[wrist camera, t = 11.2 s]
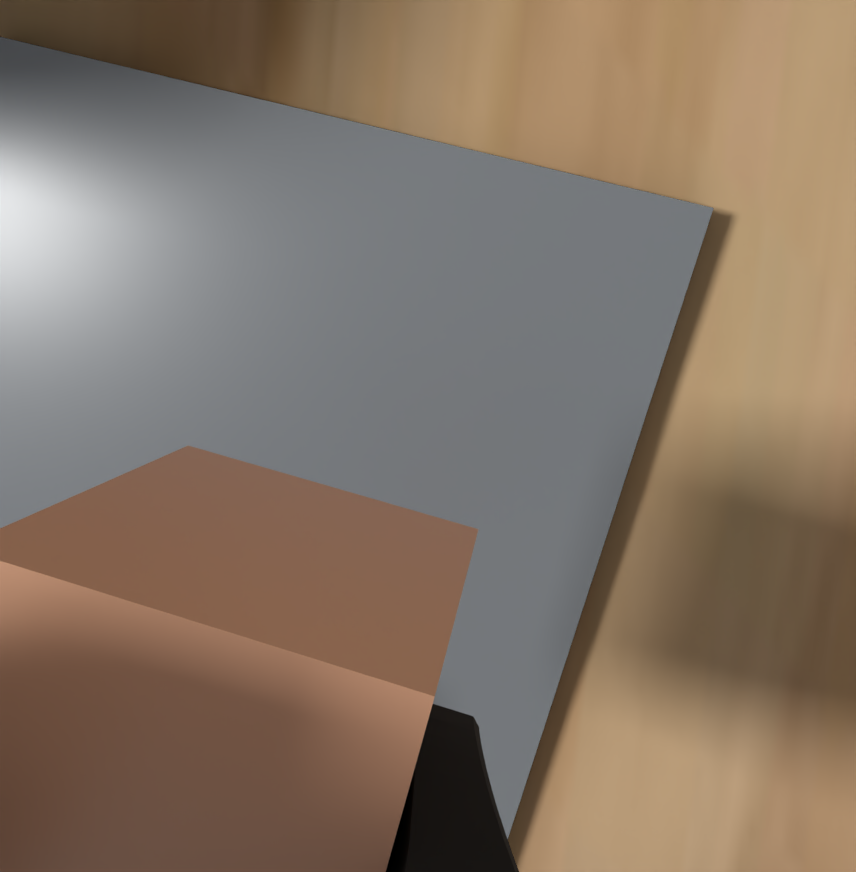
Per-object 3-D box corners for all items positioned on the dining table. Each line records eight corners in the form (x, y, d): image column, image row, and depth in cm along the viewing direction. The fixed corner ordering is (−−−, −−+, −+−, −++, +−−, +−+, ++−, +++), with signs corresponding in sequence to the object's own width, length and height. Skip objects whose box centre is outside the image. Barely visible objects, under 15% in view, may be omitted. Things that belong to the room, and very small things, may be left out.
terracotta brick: (121, 818, 11) (-103, 1101, 7) (188, 445, 10) (-44, 547, 6) (373, 905, 11) (279, 1250, 7) (478, 529, 9) (434, 696, 6)
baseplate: (-70, 746, 22) (-91, 761, 22) (2, 41, 18) (-21, 30, 17) (472, 935, 21) (469, 959, 20) (707, 211, 16) (714, 207, 15)
